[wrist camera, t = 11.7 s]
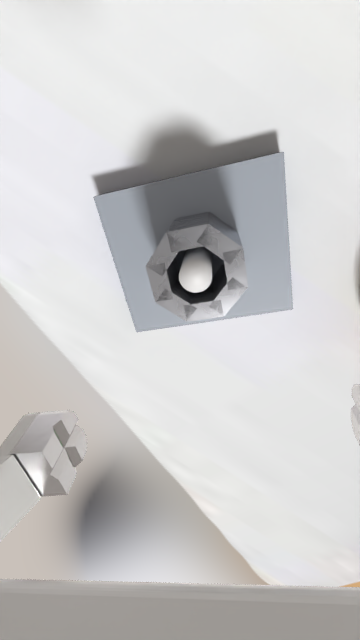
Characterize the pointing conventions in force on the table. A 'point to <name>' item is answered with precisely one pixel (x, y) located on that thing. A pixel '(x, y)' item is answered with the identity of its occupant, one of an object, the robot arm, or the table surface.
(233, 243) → the ring
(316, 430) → the table surface
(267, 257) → the shaft block
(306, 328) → the table surface
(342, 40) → the table surface
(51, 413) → the robot arm
